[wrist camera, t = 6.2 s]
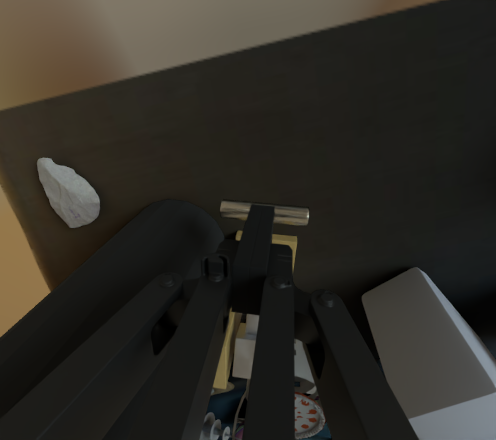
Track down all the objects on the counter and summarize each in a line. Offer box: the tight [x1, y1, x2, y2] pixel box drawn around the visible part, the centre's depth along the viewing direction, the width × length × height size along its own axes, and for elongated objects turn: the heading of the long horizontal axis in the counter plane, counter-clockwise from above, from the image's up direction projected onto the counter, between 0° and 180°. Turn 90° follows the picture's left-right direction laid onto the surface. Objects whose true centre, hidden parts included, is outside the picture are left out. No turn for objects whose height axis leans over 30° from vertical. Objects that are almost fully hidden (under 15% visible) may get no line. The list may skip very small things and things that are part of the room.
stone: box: [37, 158, 100, 228], centre depth 28 cm, size 6×8×2 cm
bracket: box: [213, 231, 297, 389], centre depth 24 cm, size 7×6×13 cm
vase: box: [0, 199, 225, 440], centre depth 17 cm, size 10×10×30 cm
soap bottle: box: [362, 267, 496, 440], centre depth 20 cm, size 12×7×23 cm, turn 44°
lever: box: [220, 199, 309, 379], centre depth 20 cm, size 12×6×2 cm, turn 178°
